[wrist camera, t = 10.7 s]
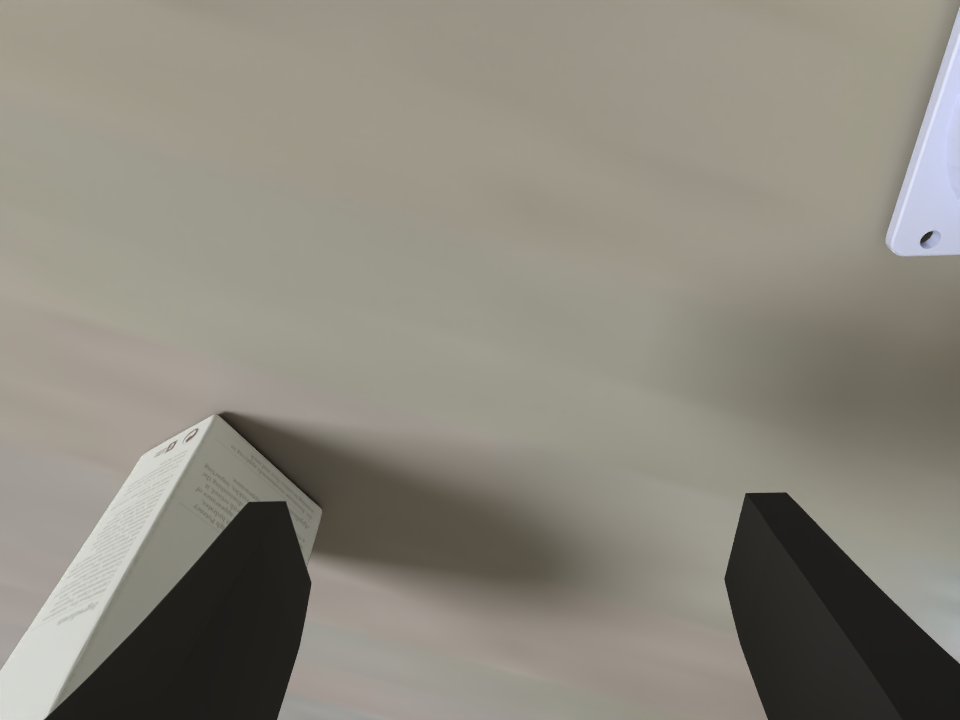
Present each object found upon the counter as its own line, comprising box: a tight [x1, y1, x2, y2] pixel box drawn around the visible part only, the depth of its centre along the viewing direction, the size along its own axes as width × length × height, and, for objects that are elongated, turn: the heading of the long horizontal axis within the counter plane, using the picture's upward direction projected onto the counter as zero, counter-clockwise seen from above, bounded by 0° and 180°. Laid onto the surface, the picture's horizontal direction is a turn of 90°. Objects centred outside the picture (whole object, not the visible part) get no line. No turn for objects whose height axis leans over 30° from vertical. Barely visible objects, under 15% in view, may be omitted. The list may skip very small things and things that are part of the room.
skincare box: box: [0, 414, 322, 720], centre depth 20 cm, size 6×4×12 cm
